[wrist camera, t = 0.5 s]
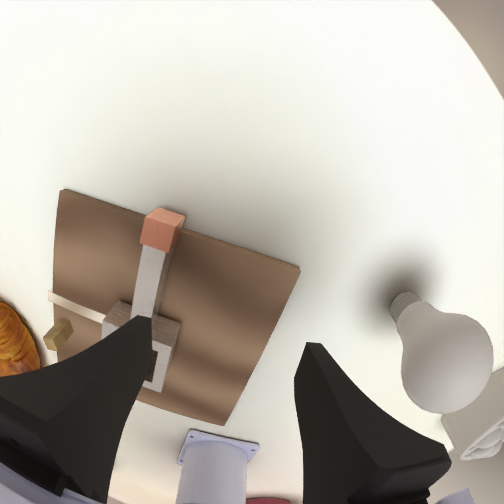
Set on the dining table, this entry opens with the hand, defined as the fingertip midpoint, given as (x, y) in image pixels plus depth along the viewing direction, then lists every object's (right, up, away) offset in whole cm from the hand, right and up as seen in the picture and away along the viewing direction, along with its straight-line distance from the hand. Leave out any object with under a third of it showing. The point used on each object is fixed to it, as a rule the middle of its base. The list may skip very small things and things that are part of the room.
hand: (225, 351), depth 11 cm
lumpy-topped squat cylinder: (+32, -16, +16) cm, 39 cm away
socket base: (-7, -2, +11) cm, 13 cm away
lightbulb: (+13, 0, +10) cm, 16 cm away
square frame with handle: (-6, +1, +9) cm, 10 cm away
